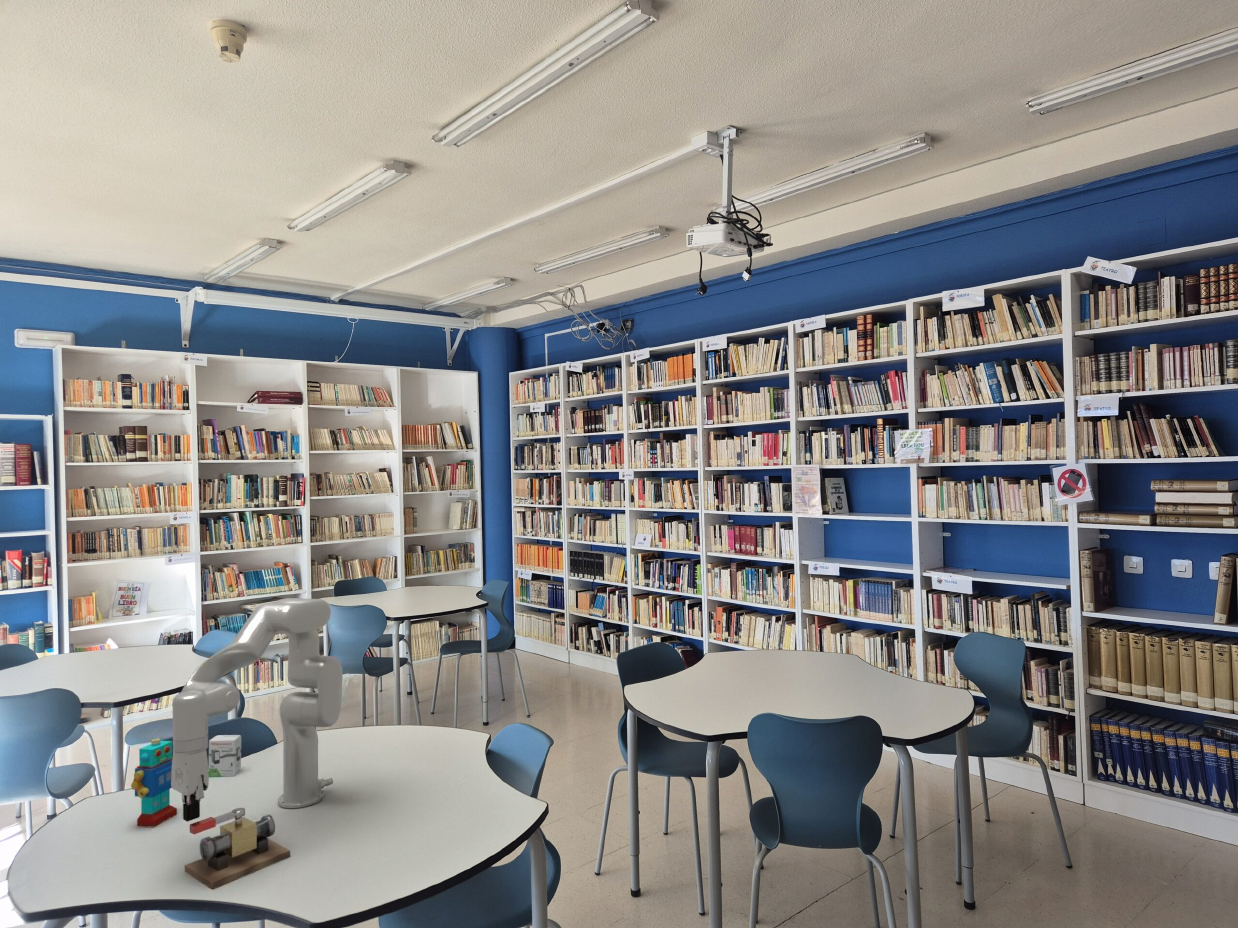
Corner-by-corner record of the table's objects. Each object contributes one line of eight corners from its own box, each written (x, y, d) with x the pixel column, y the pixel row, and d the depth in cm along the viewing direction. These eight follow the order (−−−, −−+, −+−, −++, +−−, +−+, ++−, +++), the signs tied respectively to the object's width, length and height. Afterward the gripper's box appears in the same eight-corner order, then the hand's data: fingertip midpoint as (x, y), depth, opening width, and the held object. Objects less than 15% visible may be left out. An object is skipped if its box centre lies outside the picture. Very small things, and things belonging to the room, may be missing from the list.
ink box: (207, 777, 243) (207, 740, 243) (214, 771, 248) (215, 735, 248) (234, 776, 243) (234, 739, 243) (241, 770, 248) (241, 734, 248)
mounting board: (261, 840, 198) (261, 835, 198) (290, 856, 189) (290, 850, 189) (184, 871, 183) (184, 864, 183) (212, 889, 174) (212, 882, 174)
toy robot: (148, 829, 205) (149, 737, 206) (130, 828, 206) (130, 735, 207) (181, 811, 216) (181, 724, 217) (163, 810, 218) (163, 722, 218)
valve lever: (241, 812, 188) (241, 805, 188) (247, 815, 187) (247, 808, 187) (188, 831, 178) (188, 823, 178) (194, 834, 177) (194, 827, 177)
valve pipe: (263, 841, 194) (263, 802, 195) (276, 847, 191) (276, 807, 191) (198, 867, 181) (198, 825, 182) (210, 874, 178) (210, 831, 178)
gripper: (160, 741, 186) (161, 816, 186) (188, 754, 177) (189, 832, 177) (192, 733, 192) (193, 805, 192) (221, 744, 183) (222, 820, 183)
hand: (191, 818), depth 184 cm, fingers closed
